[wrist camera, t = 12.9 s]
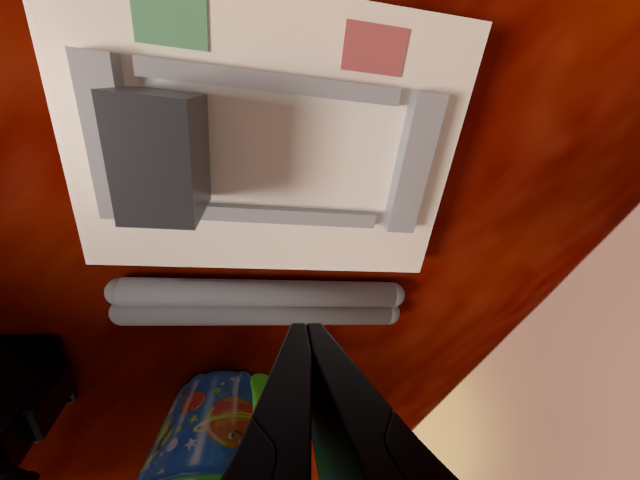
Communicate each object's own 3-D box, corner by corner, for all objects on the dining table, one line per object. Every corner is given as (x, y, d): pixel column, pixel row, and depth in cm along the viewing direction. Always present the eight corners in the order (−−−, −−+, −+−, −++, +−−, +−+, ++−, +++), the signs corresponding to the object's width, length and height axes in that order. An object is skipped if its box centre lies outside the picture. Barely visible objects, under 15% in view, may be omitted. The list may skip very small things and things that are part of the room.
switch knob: (149, 194, 16) (115, 226, 13) (135, 86, 14) (90, 89, 11) (211, 198, 17) (195, 230, 13) (207, 93, 15) (186, 99, 11)
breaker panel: (102, 247, 20) (76, 274, 17) (42, -44, 14) (-14, -74, 11) (408, 257, 23) (426, 281, 20) (469, 27, 17) (505, 18, 14)
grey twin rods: (118, 313, 22) (106, 332, 20) (6, -227, 11) (-36, -276, 10) (392, 313, 25) (400, 329, 24) (502, -105, 15) (530, -126, 13)
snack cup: (226, 463, 31) (208, 620, 22) (118, 429, 27) (42, 605, 18) (332, 364, 27) (362, 508, 18) (223, 307, 23) (191, 456, 14)
